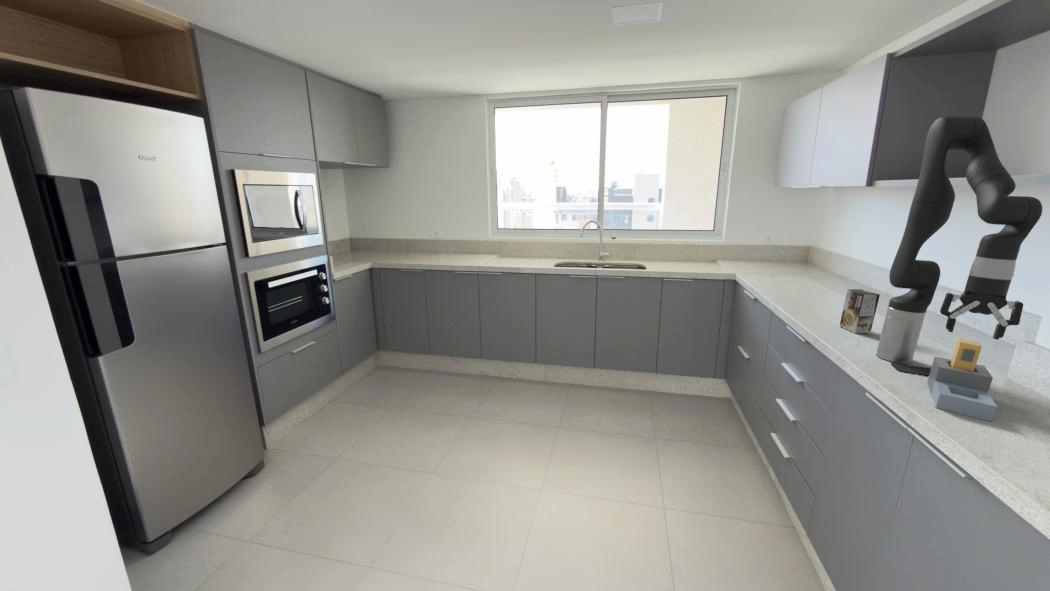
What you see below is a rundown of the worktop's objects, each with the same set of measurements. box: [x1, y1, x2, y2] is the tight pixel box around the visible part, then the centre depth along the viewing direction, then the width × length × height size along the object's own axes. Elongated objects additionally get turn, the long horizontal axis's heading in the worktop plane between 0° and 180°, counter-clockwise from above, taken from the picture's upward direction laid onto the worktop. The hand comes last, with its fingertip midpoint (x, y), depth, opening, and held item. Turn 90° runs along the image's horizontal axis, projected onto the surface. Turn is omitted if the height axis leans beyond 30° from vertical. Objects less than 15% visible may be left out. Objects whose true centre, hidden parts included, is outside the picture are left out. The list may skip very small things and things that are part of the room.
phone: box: [890, 362, 931, 377], centre depth 129 cm, size 7×1×15 cm
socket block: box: [927, 356, 998, 422], centre depth 111 cm, size 20×10×8 cm, turn 141°
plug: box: [950, 338, 983, 372], centre depth 113 cm, size 5×4×10 cm
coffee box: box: [839, 288, 881, 334], centre depth 166 cm, size 9×6×16 cm
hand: (972, 334), depth 111 cm, fingers open, 8 cm apart
